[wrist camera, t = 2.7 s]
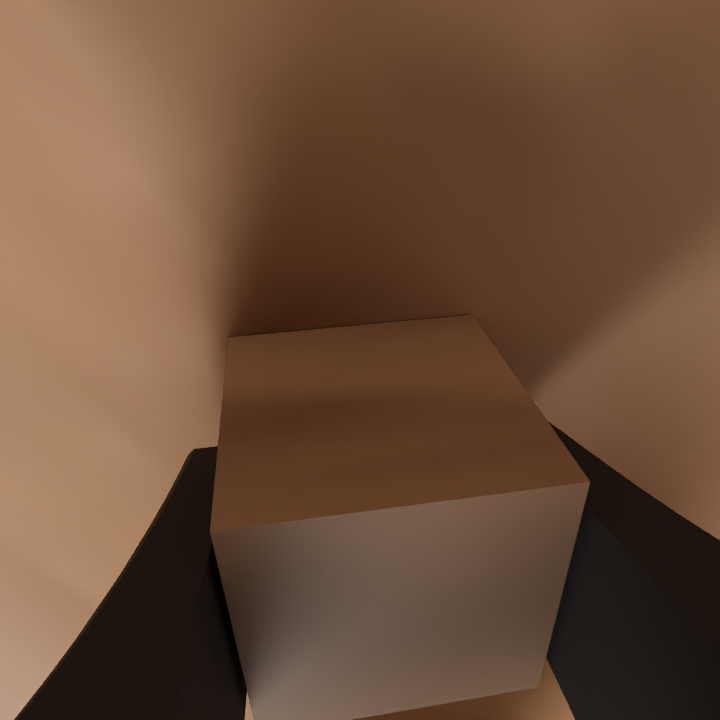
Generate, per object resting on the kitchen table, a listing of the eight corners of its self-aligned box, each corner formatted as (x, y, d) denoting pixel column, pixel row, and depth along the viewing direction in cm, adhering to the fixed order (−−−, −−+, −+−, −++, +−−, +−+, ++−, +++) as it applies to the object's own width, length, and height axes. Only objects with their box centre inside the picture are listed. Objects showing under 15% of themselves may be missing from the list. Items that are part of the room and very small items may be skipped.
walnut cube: (457, 490, 12) (538, 688, 8) (257, 516, 11) (258, 735, 8) (473, 314, 10) (590, 482, 6) (228, 337, 9) (209, 531, 6)
